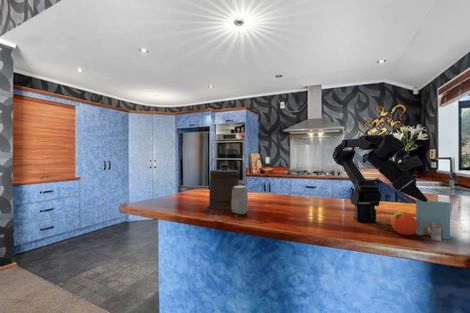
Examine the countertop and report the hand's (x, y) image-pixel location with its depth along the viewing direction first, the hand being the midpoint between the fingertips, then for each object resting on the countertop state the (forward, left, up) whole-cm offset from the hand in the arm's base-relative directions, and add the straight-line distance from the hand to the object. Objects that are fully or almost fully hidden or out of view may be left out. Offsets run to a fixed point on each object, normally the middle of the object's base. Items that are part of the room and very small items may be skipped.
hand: (424, 199), depth 74 cm
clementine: (-7, -2, -12) cm, 14 cm away
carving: (-63, +16, -12) cm, 66 cm away
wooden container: (-73, +29, -12) cm, 79 cm away
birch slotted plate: (+2, -1, -11) cm, 12 cm away
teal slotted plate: (+2, -1, -11) cm, 12 cm away
